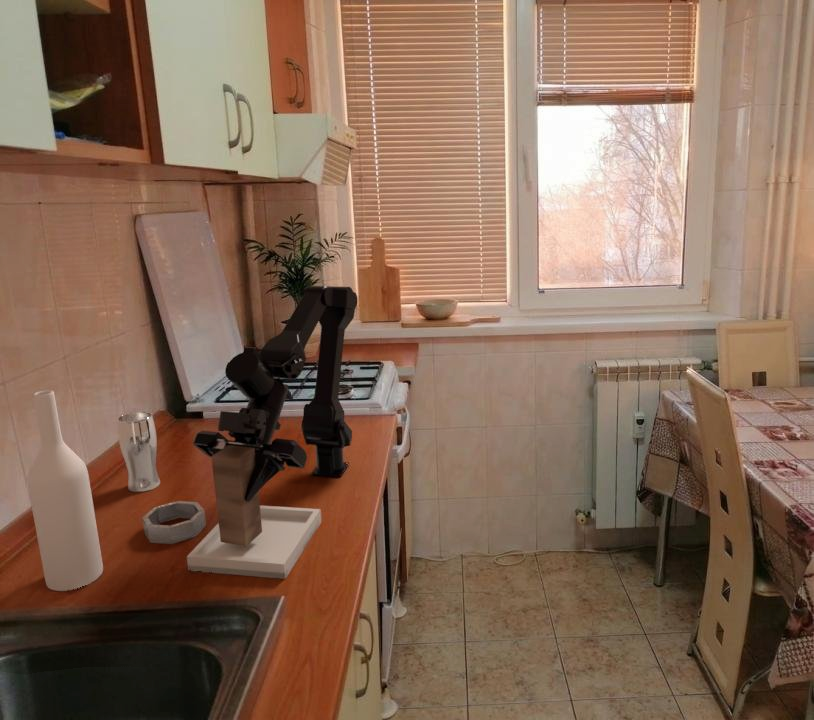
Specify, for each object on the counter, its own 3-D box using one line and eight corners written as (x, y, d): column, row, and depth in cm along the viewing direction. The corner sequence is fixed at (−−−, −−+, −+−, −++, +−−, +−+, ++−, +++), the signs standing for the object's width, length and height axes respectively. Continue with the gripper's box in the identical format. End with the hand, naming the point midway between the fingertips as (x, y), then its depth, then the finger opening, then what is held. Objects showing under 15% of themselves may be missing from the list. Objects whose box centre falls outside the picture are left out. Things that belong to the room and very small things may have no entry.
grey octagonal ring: (165, 514, 121) (163, 500, 120) (213, 518, 119) (211, 503, 119) (135, 541, 112) (133, 525, 111) (186, 545, 110) (184, 529, 110)
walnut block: (237, 527, 111) (228, 445, 107) (262, 531, 109) (254, 448, 105) (220, 542, 106) (211, 456, 102) (246, 546, 105) (237, 459, 101)
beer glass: (121, 485, 134) (111, 416, 131) (155, 475, 139) (146, 408, 135) (132, 496, 129) (122, 424, 125) (167, 486, 133) (158, 416, 130)
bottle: (36, 593, 98) (0, 402, 90) (59, 564, 106) (28, 386, 98) (91, 590, 98) (60, 399, 91) (111, 560, 106) (83, 383, 99)
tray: (237, 516, 120) (236, 503, 119) (321, 521, 117) (320, 509, 116) (188, 570, 103) (186, 556, 102) (285, 578, 100) (284, 564, 99)
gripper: (193, 384, 108) (156, 473, 101) (293, 392, 102) (261, 487, 95) (225, 414, 117) (193, 497, 110) (319, 423, 111) (292, 512, 104)
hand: (232, 498), depth 105 cm, fingers closed on walnut block, 5 cm apart
